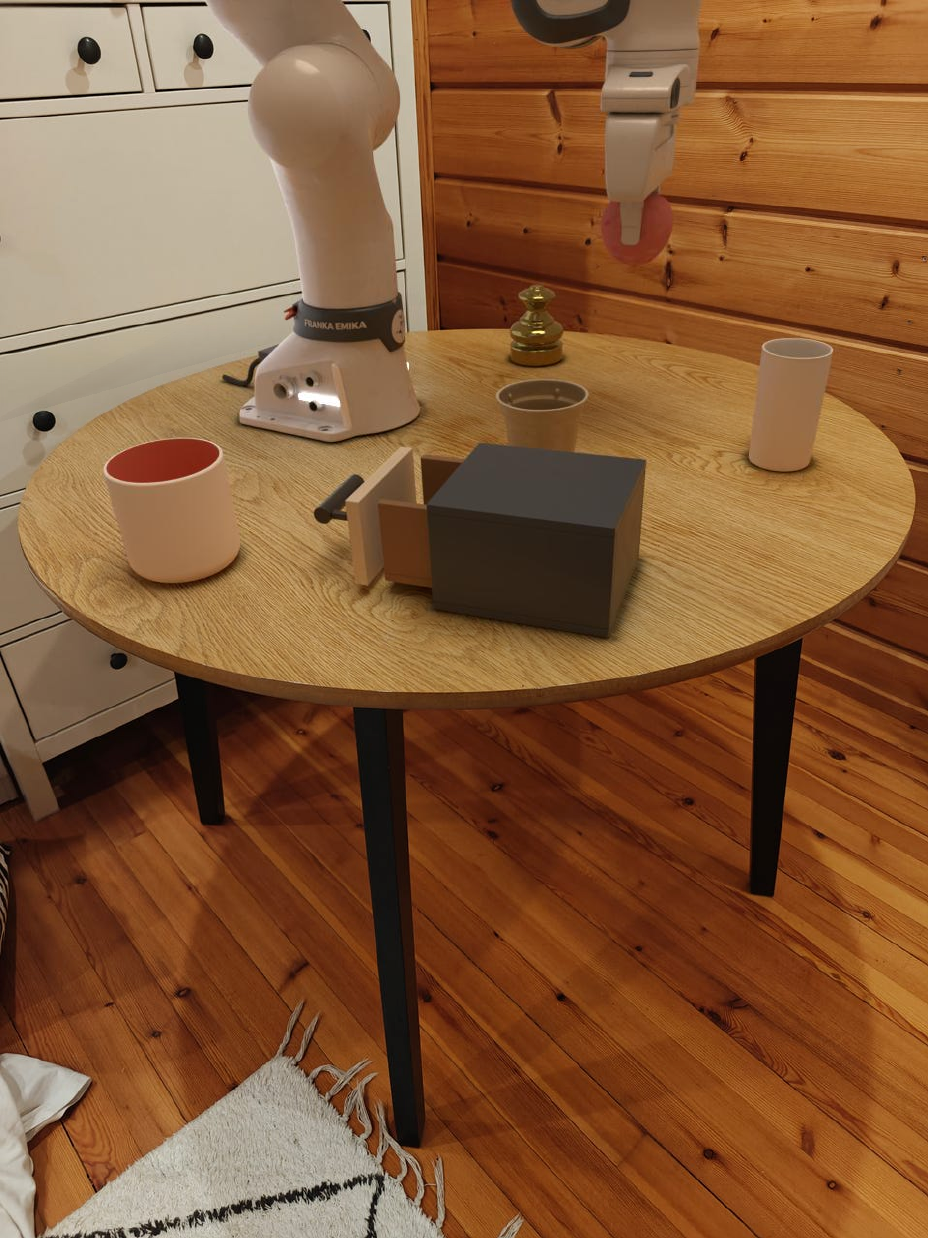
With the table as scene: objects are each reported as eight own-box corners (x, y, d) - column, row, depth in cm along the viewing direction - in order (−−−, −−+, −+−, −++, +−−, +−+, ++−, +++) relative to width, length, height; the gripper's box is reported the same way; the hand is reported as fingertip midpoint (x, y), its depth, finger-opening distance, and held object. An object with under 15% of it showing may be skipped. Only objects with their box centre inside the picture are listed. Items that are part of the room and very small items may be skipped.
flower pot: (484, 485, 94) (482, 405, 89) (512, 450, 101) (511, 375, 96) (573, 496, 91) (575, 414, 86) (594, 459, 98) (598, 382, 93)
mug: (821, 471, 93) (844, 356, 87) (757, 475, 93) (775, 359, 87) (788, 434, 102) (806, 327, 95) (729, 437, 102) (743, 330, 95)
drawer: (308, 576, 78) (296, 494, 73) (364, 517, 87) (356, 441, 82) (507, 608, 72) (505, 521, 68) (544, 542, 81) (545, 461, 77)
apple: (628, 275, 94) (635, 191, 89) (585, 262, 99) (590, 182, 95) (682, 266, 97) (692, 184, 92) (638, 253, 102) (645, 175, 98)
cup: (144, 539, 87) (118, 441, 81) (248, 531, 87) (230, 433, 82) (119, 593, 78) (89, 488, 73) (235, 585, 79) (214, 479, 73)
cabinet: (433, 609, 74) (426, 504, 69) (482, 539, 84) (479, 442, 79) (608, 638, 70) (615, 528, 65) (638, 560, 80) (646, 459, 74)
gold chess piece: (511, 351, 131) (511, 279, 126) (562, 350, 131) (564, 278, 125) (508, 367, 125) (507, 293, 120) (562, 367, 124) (564, 292, 119)
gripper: (636, 78, 98) (626, 216, 105) (597, 91, 82) (588, 253, 89) (695, 77, 96) (681, 218, 103) (667, 91, 80) (652, 256, 87)
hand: (638, 234), depth 96 cm, fingers closed on apple, 7 cm apart
